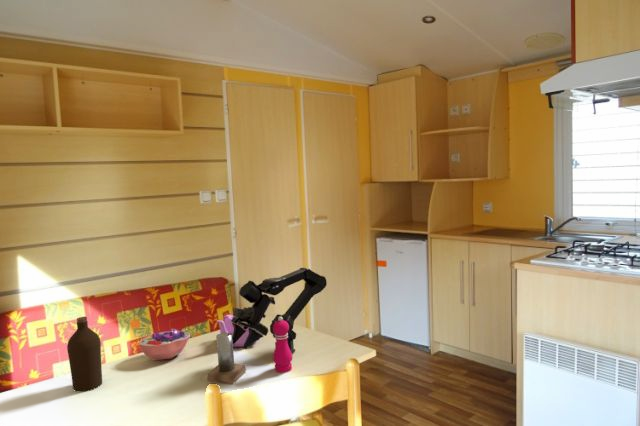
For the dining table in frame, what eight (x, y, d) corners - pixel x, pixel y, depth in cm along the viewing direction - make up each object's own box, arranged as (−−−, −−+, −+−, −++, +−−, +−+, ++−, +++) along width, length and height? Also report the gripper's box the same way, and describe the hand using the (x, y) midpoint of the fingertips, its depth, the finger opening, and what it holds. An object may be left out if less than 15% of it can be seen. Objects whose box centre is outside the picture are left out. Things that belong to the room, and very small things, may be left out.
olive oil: (80, 395, 157) (74, 324, 155) (65, 388, 163) (58, 320, 161) (110, 383, 165) (104, 315, 164) (94, 377, 171) (88, 312, 170)
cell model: (140, 355, 192) (137, 328, 192) (189, 346, 200) (187, 321, 199) (140, 369, 177) (138, 341, 176) (193, 359, 184) (191, 332, 183)
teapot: (201, 347, 197) (199, 316, 196) (237, 332, 215) (235, 303, 214) (238, 356, 184) (235, 323, 183) (273, 339, 202) (271, 309, 201)
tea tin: (235, 365, 168) (232, 331, 168) (233, 371, 163) (231, 337, 162) (219, 366, 168) (217, 333, 167) (217, 372, 162) (215, 338, 161)
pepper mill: (296, 366, 172) (293, 314, 170) (287, 374, 165) (284, 320, 164) (279, 364, 175) (276, 313, 173) (270, 371, 168) (266, 318, 167)
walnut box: (245, 372, 169) (245, 364, 169) (232, 384, 159) (232, 375, 159) (221, 370, 172) (221, 362, 172) (207, 381, 162) (207, 373, 162)
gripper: (231, 296, 179) (210, 332, 173) (256, 301, 165) (233, 340, 159) (252, 309, 185) (232, 345, 179) (277, 316, 170) (256, 354, 164)
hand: (237, 346), depth 170 cm, fingers open, 9 cm apart
